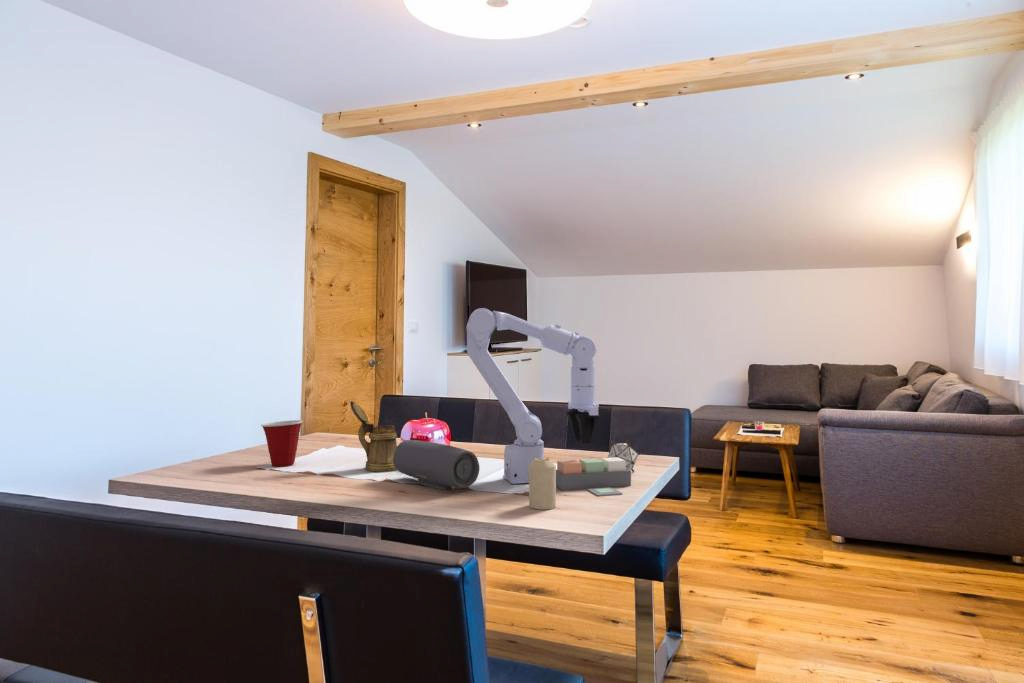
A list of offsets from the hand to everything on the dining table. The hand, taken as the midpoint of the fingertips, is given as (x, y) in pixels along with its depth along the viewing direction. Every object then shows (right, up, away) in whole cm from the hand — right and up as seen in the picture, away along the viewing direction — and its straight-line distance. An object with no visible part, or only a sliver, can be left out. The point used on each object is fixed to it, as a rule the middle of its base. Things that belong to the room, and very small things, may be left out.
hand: (582, 441), depth 164 cm
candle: (-11, -10, -25) cm, 29 cm away
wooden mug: (-54, -10, +15) cm, 56 cm away
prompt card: (+4, -10, -12) cm, 16 cm away
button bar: (+1, -10, -5) cm, 11 cm away
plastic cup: (-80, -9, +20) cm, 83 cm away
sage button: (+1, -7, -5) cm, 9 cm away
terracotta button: (-4, -7, -7) cm, 10 cm away
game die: (+11, -10, +10) cm, 18 cm away
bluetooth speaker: (-36, -10, -5) cm, 37 cm away
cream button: (+7, -7, -4) cm, 10 cm away
